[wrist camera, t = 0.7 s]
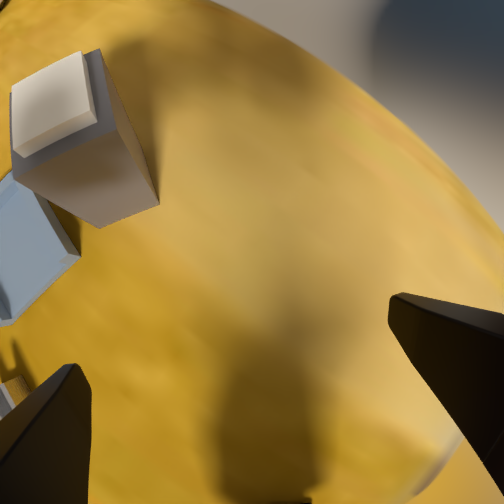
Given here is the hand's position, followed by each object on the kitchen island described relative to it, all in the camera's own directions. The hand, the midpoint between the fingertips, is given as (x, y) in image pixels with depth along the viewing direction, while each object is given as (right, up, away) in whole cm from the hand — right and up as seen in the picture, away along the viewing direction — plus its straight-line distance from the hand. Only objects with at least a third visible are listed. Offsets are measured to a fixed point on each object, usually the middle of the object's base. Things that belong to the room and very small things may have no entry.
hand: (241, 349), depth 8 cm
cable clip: (-19, -10, +11) cm, 24 cm away
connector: (-10, +7, +14) cm, 19 cm away
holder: (-19, +3, +13) cm, 23 cm away
